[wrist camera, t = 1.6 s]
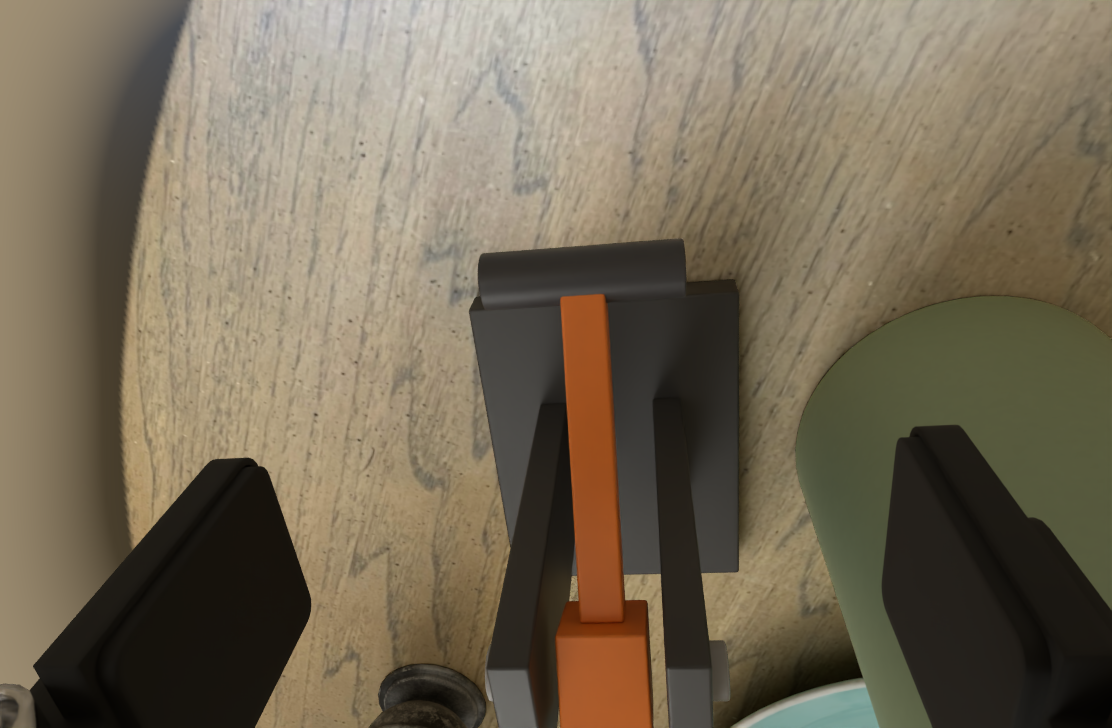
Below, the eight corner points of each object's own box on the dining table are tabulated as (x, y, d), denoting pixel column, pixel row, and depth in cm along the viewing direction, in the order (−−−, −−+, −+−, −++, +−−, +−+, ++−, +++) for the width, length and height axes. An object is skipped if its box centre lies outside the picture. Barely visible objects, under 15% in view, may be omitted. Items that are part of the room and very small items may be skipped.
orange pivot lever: (492, 258, 20) (470, 248, 18) (681, 243, 20) (685, 231, 17) (520, 702, 21) (504, 750, 18) (706, 701, 20) (713, 751, 18)
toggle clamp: (474, 296, 27) (360, 538, 15) (734, 278, 26) (817, 525, 14) (519, 557, 32) (458, 877, 21) (735, 552, 31) (794, 888, 20)
